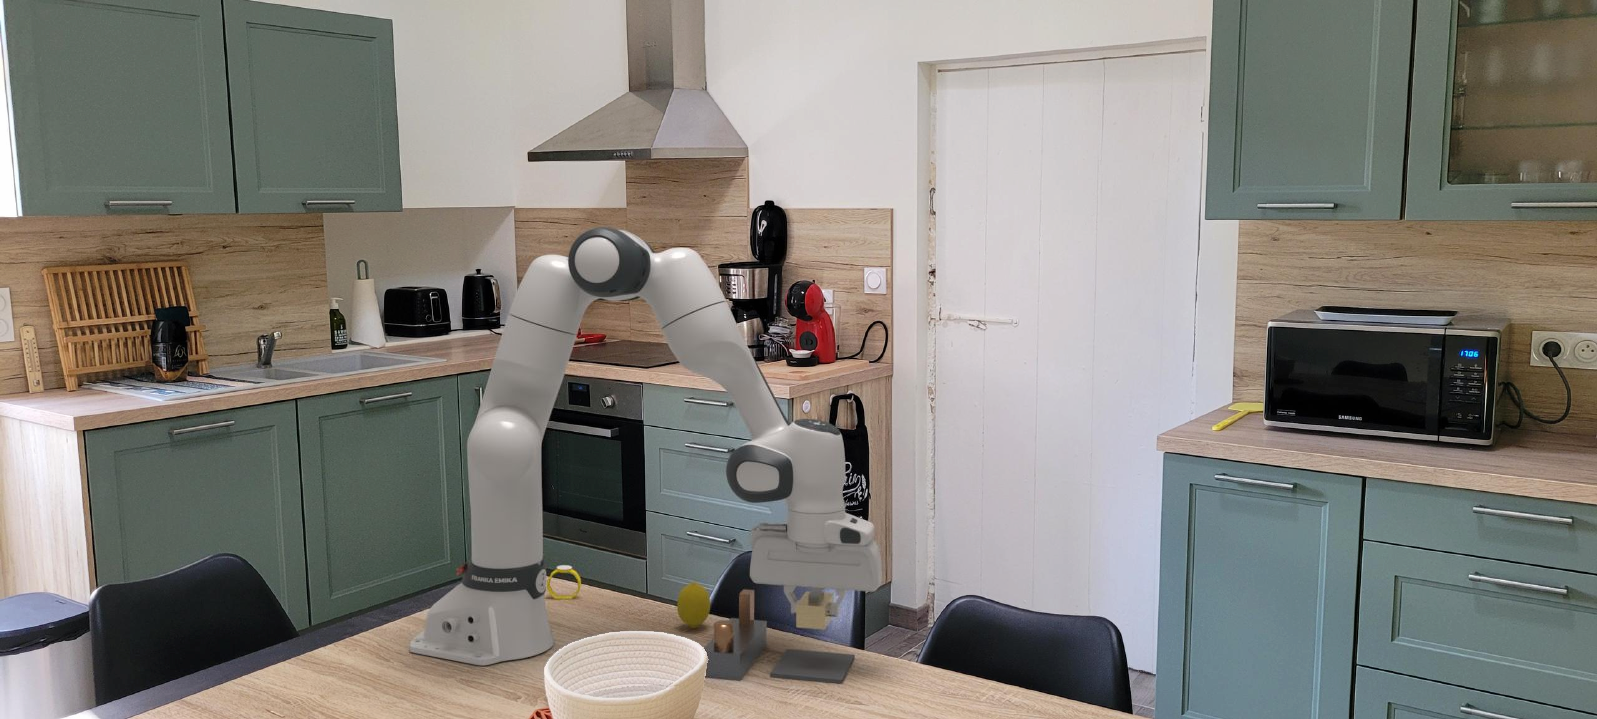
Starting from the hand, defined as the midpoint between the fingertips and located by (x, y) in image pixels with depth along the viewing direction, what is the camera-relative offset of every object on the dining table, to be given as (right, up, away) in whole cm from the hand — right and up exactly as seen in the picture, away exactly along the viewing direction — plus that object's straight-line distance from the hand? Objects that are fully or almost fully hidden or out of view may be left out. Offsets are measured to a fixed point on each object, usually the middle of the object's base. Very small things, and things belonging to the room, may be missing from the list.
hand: (815, 614), depth 178 cm
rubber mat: (0, -8, +1) cm, 8 cm away
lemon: (-20, -7, +18) cm, 28 cm away
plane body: (-12, -8, +3) cm, 15 cm away
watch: (-45, -5, +34) cm, 57 cm away
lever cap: (0, -1, 0) cm, 1 cm away
